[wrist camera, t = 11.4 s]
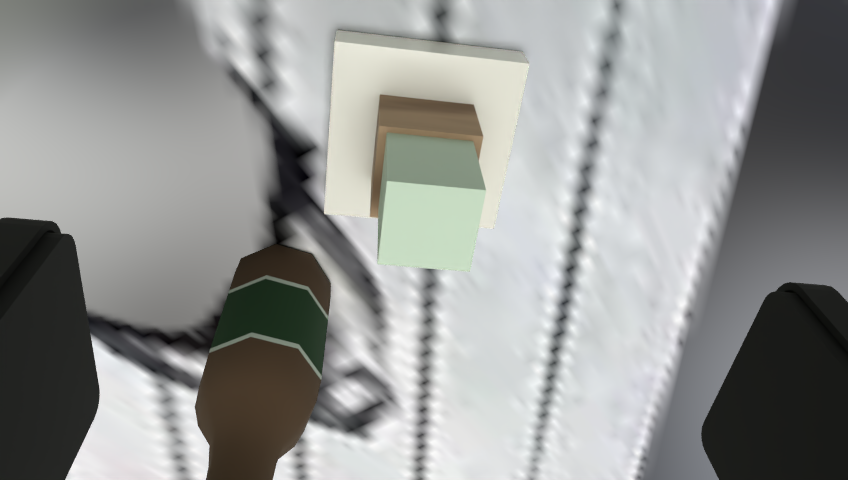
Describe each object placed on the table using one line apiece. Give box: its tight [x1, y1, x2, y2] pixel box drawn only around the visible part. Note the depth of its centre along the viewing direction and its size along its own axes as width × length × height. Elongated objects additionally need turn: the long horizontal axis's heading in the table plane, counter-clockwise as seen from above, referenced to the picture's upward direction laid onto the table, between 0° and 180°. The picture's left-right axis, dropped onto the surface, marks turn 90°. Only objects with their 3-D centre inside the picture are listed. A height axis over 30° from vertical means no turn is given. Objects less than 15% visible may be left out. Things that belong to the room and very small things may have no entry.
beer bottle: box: [195, 244, 331, 480], centre depth 43 cm, size 8×8×24 cm
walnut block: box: [370, 94, 483, 218], centre depth 42 cm, size 6×6×5 cm
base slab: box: [324, 30, 529, 229], centre depth 46 cm, size 12×12×2 cm
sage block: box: [378, 132, 486, 272], centre depth 38 cm, size 5×5×6 cm
